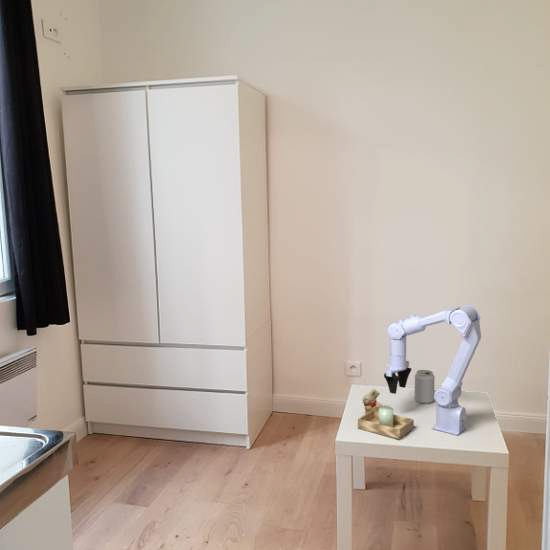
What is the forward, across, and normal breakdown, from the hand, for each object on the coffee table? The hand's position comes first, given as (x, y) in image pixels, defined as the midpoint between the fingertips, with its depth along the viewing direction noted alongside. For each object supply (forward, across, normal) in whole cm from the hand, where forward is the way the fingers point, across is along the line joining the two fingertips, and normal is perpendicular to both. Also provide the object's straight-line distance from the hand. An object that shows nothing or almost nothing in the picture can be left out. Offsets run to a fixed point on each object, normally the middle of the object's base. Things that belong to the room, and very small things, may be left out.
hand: (397, 389), depth 215 cm
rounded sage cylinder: (+9, +12, +2) cm, 16 cm away
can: (+10, -19, +2) cm, 22 cm away
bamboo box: (+10, +13, +2) cm, 16 cm away
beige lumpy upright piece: (+10, +3, -8) cm, 13 cm away
